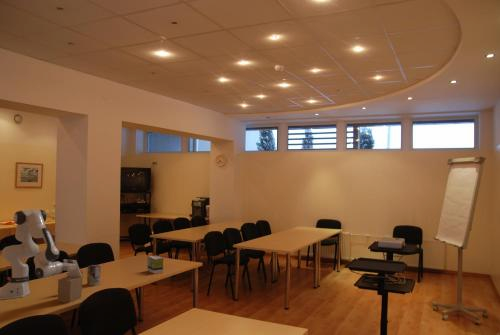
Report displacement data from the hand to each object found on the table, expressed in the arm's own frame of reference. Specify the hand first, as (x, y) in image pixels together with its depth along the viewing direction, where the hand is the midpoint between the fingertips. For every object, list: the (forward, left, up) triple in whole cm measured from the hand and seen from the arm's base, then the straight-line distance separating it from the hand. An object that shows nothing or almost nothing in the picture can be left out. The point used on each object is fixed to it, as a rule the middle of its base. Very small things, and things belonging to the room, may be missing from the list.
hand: (70, 263), depth 292 cm
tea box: (+91, +41, -27) cm, 104 cm away
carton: (0, 0, -27) cm, 27 cm away
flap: (+2, +1, -4) cm, 5 cm away
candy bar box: (+8, +17, -27) cm, 33 cm away
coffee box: (+28, +31, -27) cm, 50 cm away
